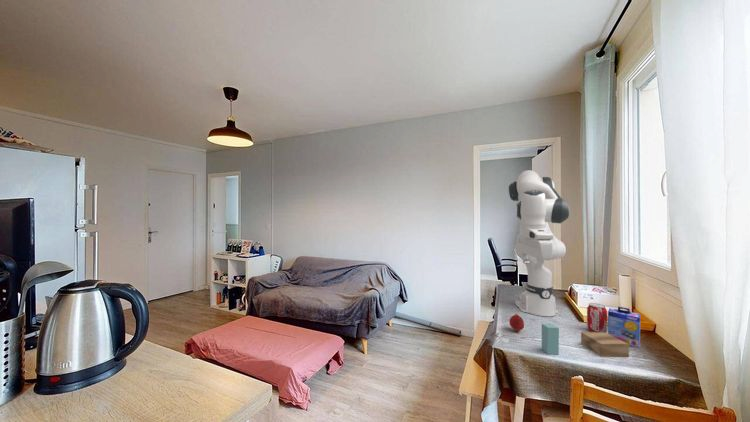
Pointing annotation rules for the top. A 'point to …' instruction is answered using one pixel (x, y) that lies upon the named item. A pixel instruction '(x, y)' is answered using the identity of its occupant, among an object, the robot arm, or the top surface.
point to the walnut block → (604, 344)
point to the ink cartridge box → (624, 325)
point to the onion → (516, 322)
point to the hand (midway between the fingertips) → (531, 266)
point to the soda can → (596, 318)
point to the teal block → (550, 339)
